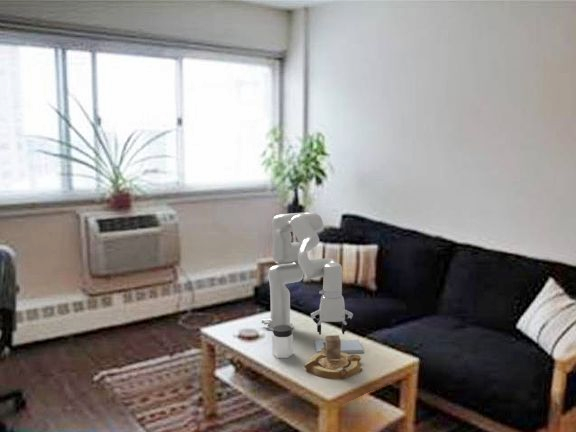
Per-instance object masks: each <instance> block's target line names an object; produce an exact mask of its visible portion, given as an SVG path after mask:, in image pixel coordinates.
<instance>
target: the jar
mask: <svg viewBox="0 0 576 432" xmlns="http://www.w3.org/2000/svg"><path fill="white" fill-rule="evenodd" d="M271 342H272V345H271V349H272V355H273V356H274V357H275V358H277V359H288V358H290V356H292V355H294V334H293V328H291V327H290V326H288V325H278V326H275V327H274V328H273V331H272V334H271Z"/></svg>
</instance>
